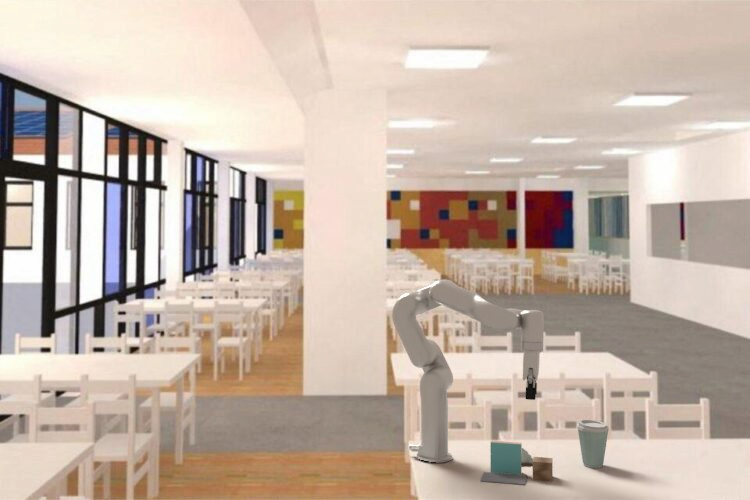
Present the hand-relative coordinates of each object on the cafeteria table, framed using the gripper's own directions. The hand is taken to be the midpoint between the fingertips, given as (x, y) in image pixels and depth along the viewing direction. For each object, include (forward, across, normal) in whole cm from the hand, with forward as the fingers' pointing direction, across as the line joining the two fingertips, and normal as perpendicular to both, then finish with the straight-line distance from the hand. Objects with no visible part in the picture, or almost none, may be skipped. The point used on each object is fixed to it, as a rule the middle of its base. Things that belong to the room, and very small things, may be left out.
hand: (531, 396), depth 249 cm
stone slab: (+25, -12, -5) cm, 28 cm away
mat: (+24, +15, -8) cm, 30 cm away
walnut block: (+24, +11, +4) cm, 27 cm away
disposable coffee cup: (+24, -8, +21) cm, 33 cm away
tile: (+24, +8, -7) cm, 27 cm away
